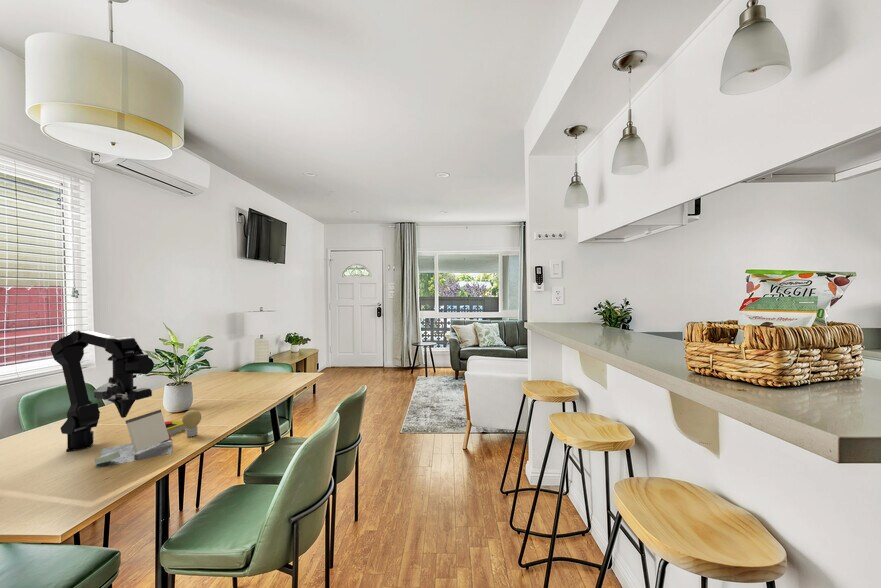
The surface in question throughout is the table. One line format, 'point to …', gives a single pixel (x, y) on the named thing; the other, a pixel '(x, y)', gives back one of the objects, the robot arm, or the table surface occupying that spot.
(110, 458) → the rocker
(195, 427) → the light bulb
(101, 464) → the panel
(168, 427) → the emergency button
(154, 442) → the beige square plate
